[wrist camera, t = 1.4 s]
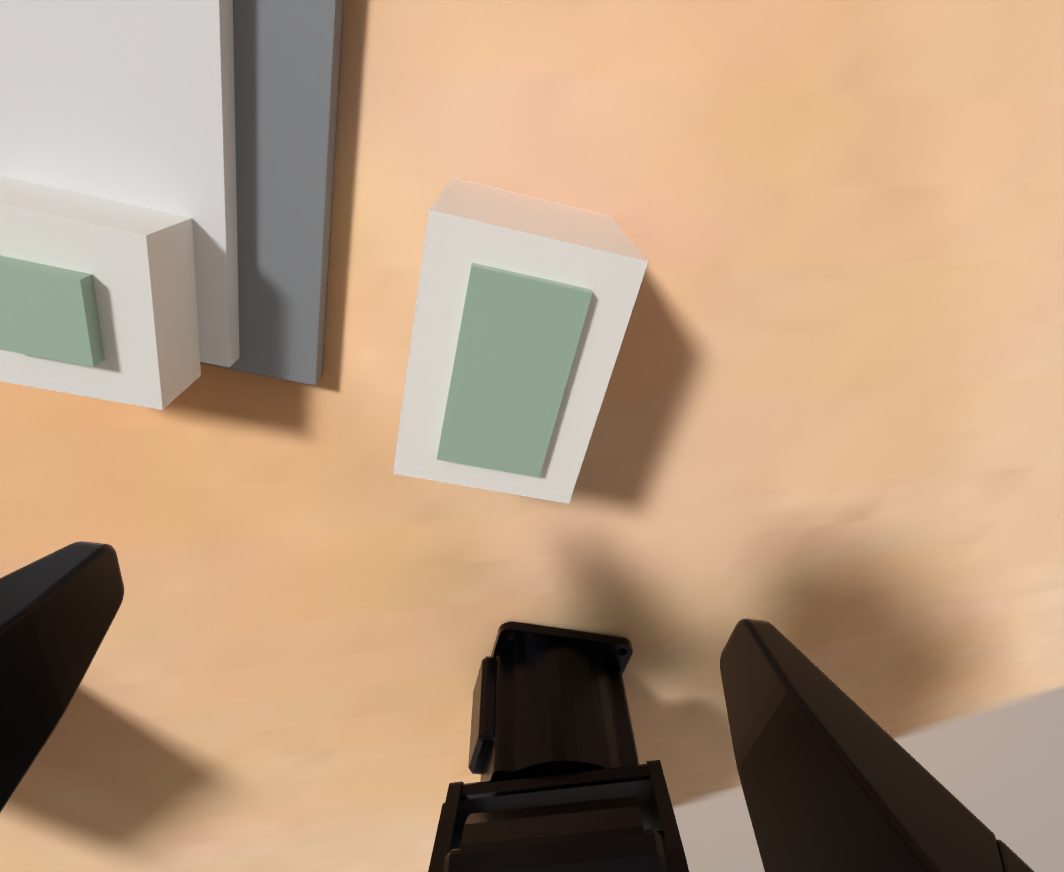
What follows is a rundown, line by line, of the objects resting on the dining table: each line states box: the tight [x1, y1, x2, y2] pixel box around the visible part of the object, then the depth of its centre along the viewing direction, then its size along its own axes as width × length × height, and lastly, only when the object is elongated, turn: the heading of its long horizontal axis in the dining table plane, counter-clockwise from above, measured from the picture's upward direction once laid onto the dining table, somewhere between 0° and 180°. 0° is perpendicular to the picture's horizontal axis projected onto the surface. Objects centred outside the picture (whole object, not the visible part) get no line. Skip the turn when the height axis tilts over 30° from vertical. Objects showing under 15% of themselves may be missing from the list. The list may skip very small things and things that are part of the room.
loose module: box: [393, 177, 648, 504], centre depth 17 cm, size 5×7×6 cm
